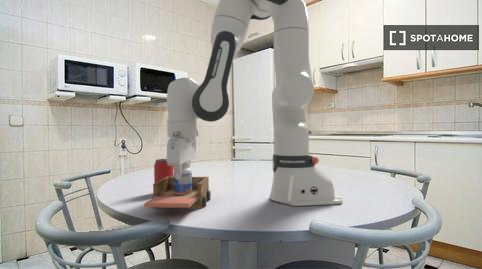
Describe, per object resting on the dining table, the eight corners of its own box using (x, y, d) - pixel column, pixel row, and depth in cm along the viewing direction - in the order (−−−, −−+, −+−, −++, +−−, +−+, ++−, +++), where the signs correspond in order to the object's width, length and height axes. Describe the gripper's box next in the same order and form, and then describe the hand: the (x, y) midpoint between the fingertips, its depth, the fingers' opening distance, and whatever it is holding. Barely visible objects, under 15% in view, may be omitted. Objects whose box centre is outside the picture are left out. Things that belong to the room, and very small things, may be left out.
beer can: (176, 191, 101) (175, 158, 100) (169, 195, 94) (169, 160, 94) (158, 191, 101) (158, 158, 101) (151, 195, 95) (150, 160, 95)
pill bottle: (174, 191, 87) (173, 160, 87) (191, 190, 88) (191, 160, 88) (174, 195, 82) (173, 162, 82) (192, 194, 83) (192, 162, 83)
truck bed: (211, 197, 91) (211, 176, 91) (204, 208, 79) (204, 184, 79) (164, 197, 92) (164, 176, 92) (150, 208, 80) (150, 183, 80)
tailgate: (198, 196, 79) (190, 203, 69) (198, 200, 79) (190, 207, 69) (155, 195, 79) (142, 202, 70) (155, 200, 79) (142, 207, 70)
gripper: (183, 132, 74) (184, 183, 75) (199, 131, 95) (199, 171, 95) (160, 132, 75) (161, 183, 75) (180, 131, 95) (181, 171, 95)
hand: (182, 176), depth 85 cm, fingers open, 7 cm apart
